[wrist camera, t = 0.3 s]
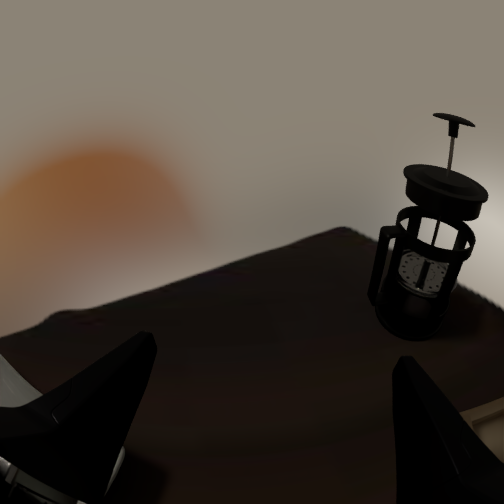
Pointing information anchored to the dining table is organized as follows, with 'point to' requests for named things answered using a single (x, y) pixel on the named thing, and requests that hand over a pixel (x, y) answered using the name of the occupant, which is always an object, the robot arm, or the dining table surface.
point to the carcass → (488, 425)
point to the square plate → (29, 400)
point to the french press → (422, 254)
